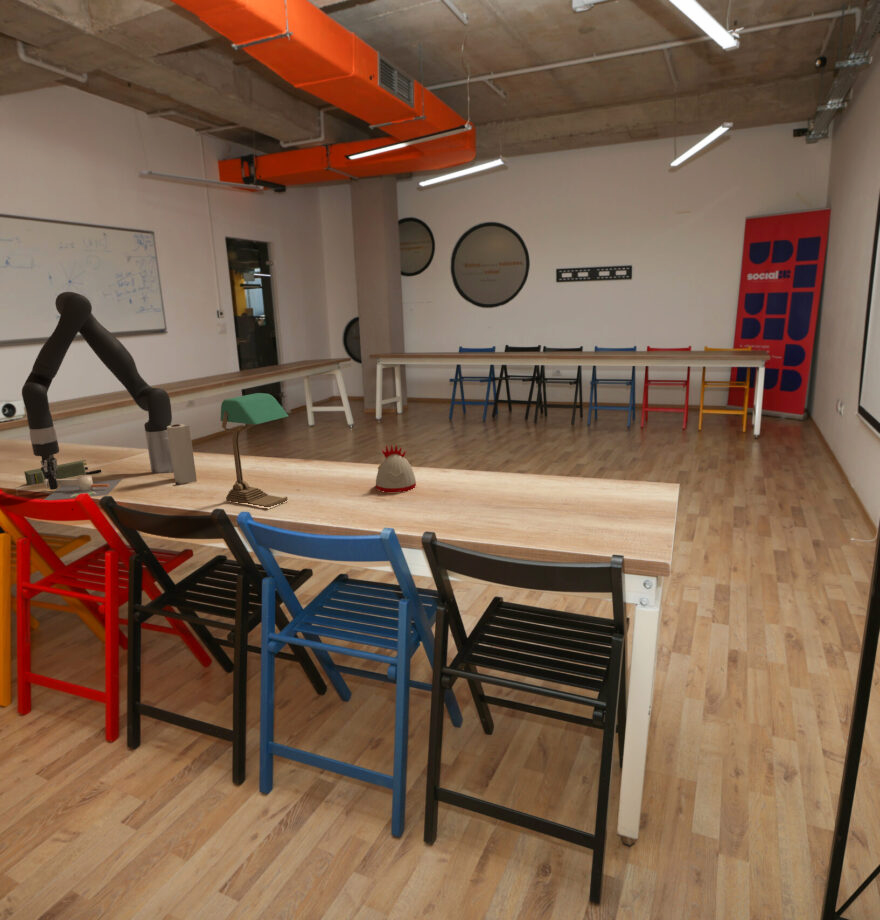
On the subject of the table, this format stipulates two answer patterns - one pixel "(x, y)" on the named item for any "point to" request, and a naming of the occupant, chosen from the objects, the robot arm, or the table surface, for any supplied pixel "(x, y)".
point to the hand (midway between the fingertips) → (54, 488)
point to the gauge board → (73, 491)
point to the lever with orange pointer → (78, 483)
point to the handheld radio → (59, 472)
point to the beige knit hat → (395, 472)
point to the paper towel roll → (181, 453)
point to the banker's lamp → (238, 411)
